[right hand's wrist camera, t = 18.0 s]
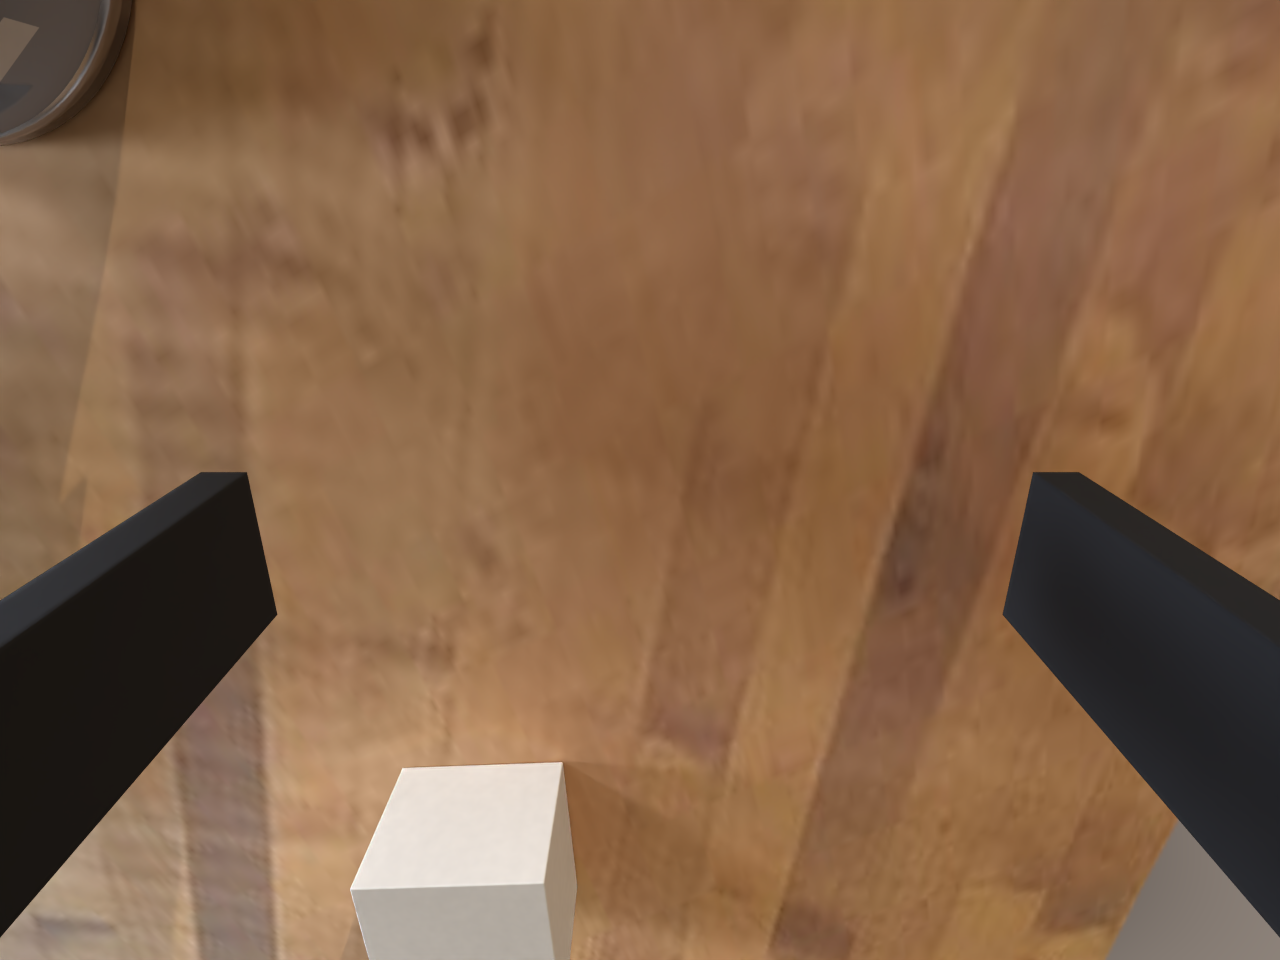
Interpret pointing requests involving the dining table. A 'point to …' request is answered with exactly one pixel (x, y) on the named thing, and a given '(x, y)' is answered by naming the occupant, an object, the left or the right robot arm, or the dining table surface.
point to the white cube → (470, 866)
